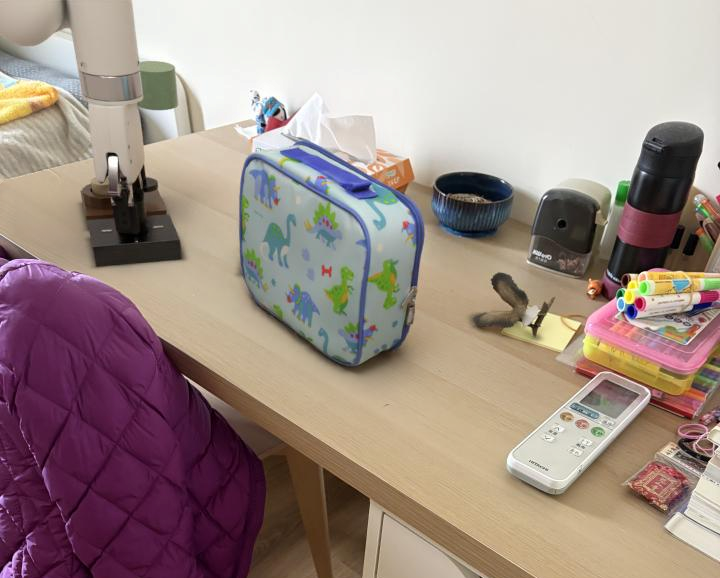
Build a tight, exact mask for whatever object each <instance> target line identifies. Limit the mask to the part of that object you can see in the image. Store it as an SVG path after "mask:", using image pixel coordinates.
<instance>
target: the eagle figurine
mask: <svg viewBox="0 0 720 578" xmlns="http://www.w3.org/2000/svg"><path fill="white" fill-rule="evenodd" d="M490 282H491V283H490V284H491V286H492V289H493V290H494V291H495V292H496V293H497V294H498V295H499V297H500V299H501V300H502V301H503V302H505V303H506V304H507V305H509V306H510V307H511V308H512V309H511V310H491V311H489V312H488V311H487V312H482V313H479V314H477V315H475V316H473V322H474V324H476V326H478V327H481V328H482V327H484V328H486V327H499V328H502V329H508V328H512V327H514V325H516V324H517V322H519V323H522V327H523V328H526V327H528V328H531V332H532V336H533V337H534V338H536V337H537V335H538V331H539V328H541V327H542V326H541V325H542V323H543V321H544V319H545V317H547V314H548V312H549V310H550V309H551V307H552V305H553V303H554V302H555V299H556V296H552V298H551V299H550V300H549V301H548V303H547V302H546V301H543V304H542V306H541V308H540V309H539V306H538V304H534V305H532V306H529V307H528V305H529V303H530V298H528V295H527V293H526V292H525V290H522V289H521V288H519V287H518V284H517V283H516V282H515V280H514V279H513V277H512V275H510V274H509V273H505V272H500V271H497V272H496V273H495V274H493V275H492V278H490Z"/></svg>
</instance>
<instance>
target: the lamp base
mask: <svg viewBox="0 0 720 578" xmlns="http://www.w3.org/2000/svg"><path fill="white" fill-rule="evenodd" d="M121 189H125V188H122V187H121ZM79 191H80V195H81V196H80V197H81V200H82V207H83V211H84V215H85V221H86V222H87V220H96V219H111V218H114V214H113V208H112V203H111V197H110V195H97V194H94V193H93V192H92V186H91V183H89V184H86V185H85V186H83V188H81V189H80V190H79ZM144 198H145V206H146V214H147V216H153V215H167V214H168V211H167V208H166V206H165V204H164V201H163V198H162V195H161V193H160V191H159V188H158V189H157V190H155V191H152V192H145V193H144ZM86 225H87V227H88V224H87V223H86ZM87 230H88V231H89V229H88V228H87Z"/></svg>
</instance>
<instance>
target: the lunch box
mask: <svg viewBox="0 0 720 578" xmlns="http://www.w3.org/2000/svg"><path fill="white" fill-rule="evenodd" d="M239 183H240V184H239V193H240V196H239V195H238V203H239V205H238V212H239V213H238V234H239V235H238V236H239V237H238V239H239V240H238V241H239V257H240V268H242V273H243V274H242V277H243V280H244V283H245V285H246V288H247V290H248V292H249V293H250V296H251V297H252V299H253V300H254V302H256V303H257V305H259V306H260V307H261V308H263V309H264V310H265V311H267V312H268V313H269V314H271V315H272V316H274V317H275V318H277V319H278V320H279V321H281V322H282V323H283V324H285V325H286V326H287V327H289V328H290V329H292V330H293V331H294V332H295V334H296V335H298V336H300V337H302V338H303V339H304V340H306V341H307V342H309V343H310V344H311V345H312V346H313V347H315V349H317V350H318V351H319V352H320V353H322V354H323V355H324V356H326V357H327V358H329V359H330V360H332V361H333V362H336V363H338V364H341V365H342V366H347V367H356V366H359V365H361V364H363V363H365V362H366V361H368V360H369V359H371V358H373V357H375V356H377V355H379V354H380V353H381V352H385V351H388V352H394V351H395V350H397V349H399V348H400V347H401V346H402V345H403V343H404V342H405V340H406V338H407V337H408V334H409V331H410V329H411V326H412V325H413V324H414V320H415V319H414V318H415V313H416V298H417V294H418V283H419V275H420V265H421V258H422V254H423V248H424V243H425V237H426V235H425V234H426V233H425V231H426V229H425V223H424V219H423V213H422V212H421V210H420V208H419V206H418V205H417V204H416V203H415V202H414V200H413V199H411V198H410V197H408V196H407V195H406V194H404V193H402V192H400V191H399V190H397V189H395V188H393V187H391V186H389V185H388V184H385V183H383V182H382V181H380V180H378V179H377V178H375V177H374V176H371V175H369V174H368V173H367V172H364V171H363V170H361V169H360V168H359V167H357V166H355V165H353V164H351V162H350V163H349V162H348V161H347V160H345V159H343V158H342V157H340V156H338V155H336V154H334V153H333V152H330V151H329V150H327V149H326V148H324V147H322V146H320V145H318V144H316V143H315V142H313V141H309V140H299V141H296V142H295V143H293V145H289V146H284V147H280V148H272V149H267V150H265V149H263V150H258V151H254V152H251V153H249V154H248V155H247V156H246V158H245V159H244V162H243V165H242V170H241V175H240V182H239Z"/></svg>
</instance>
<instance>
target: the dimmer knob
mask: <svg viewBox="0 0 720 578" xmlns="http://www.w3.org/2000/svg"><path fill="white" fill-rule="evenodd" d="M126 194H127V193H126ZM133 202H134V204H136V206H137V213H138V221H139V228H140V231H139V233H138V234H134V233H121V234H123V235H130V236H134V235H140V234H143V233H146V232H147V231H148V221H147V214H146V206H145V198H144V197H143V196H142V195H140V194H137V193H134V191H133Z"/></svg>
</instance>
